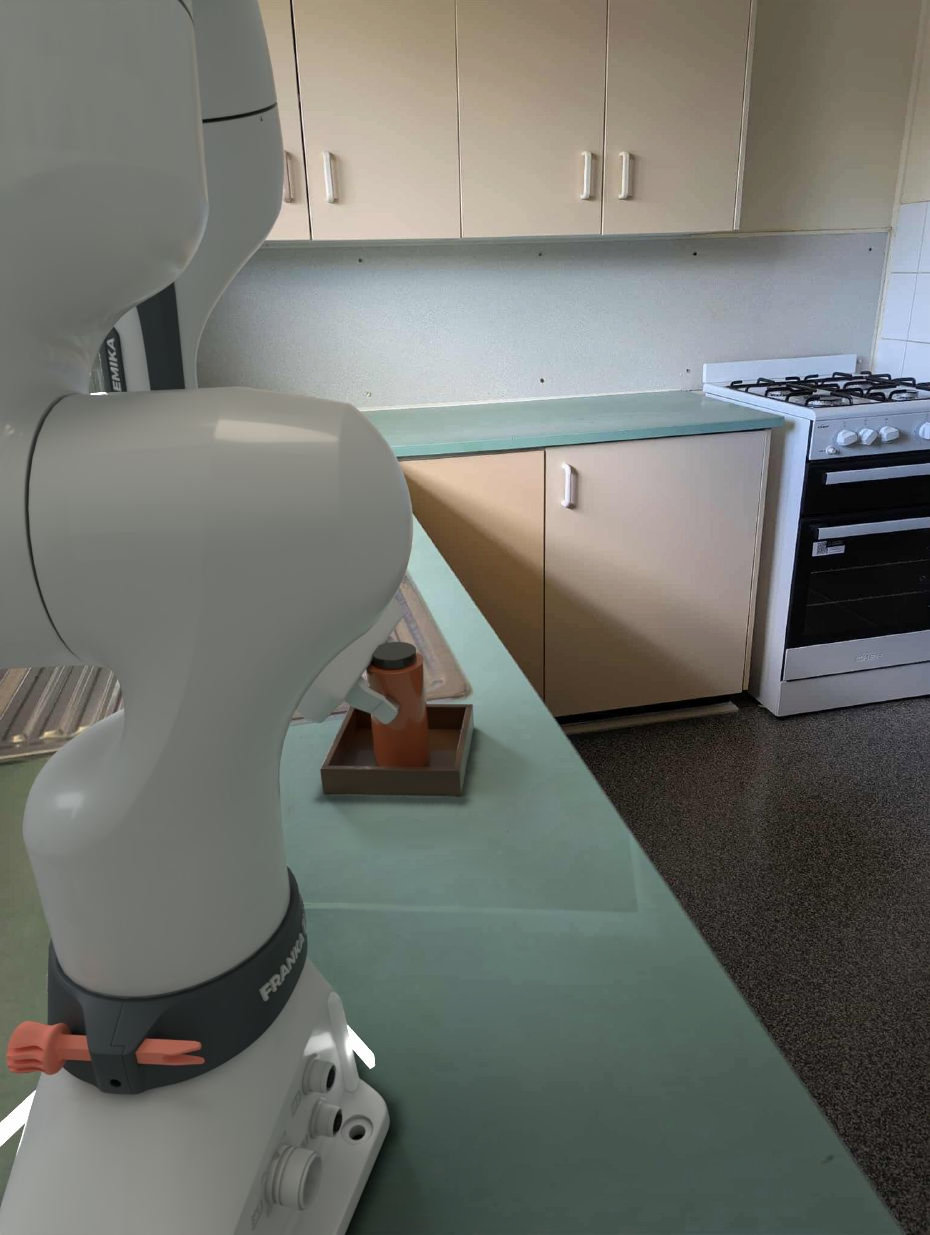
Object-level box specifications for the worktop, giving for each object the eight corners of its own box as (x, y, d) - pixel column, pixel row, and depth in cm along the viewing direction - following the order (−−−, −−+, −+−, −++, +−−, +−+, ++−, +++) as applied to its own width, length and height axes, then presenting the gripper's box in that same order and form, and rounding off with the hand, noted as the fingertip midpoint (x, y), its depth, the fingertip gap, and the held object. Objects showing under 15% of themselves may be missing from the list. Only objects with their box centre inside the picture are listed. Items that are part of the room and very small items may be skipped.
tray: (461, 801, 76) (459, 770, 74) (323, 799, 77) (319, 768, 76) (474, 731, 87) (472, 704, 86) (353, 730, 88) (351, 703, 87)
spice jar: (426, 773, 79) (418, 663, 75) (369, 772, 79) (358, 663, 75) (434, 744, 84) (426, 638, 80) (380, 743, 84) (370, 639, 80)
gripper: (261, 616, 67) (394, 735, 68) (348, 538, 85) (451, 633, 87) (217, 666, 69) (346, 780, 71) (310, 580, 88) (411, 672, 90)
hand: (404, 699), depth 79 cm, fingers closed on spice jar, 5 cm apart
